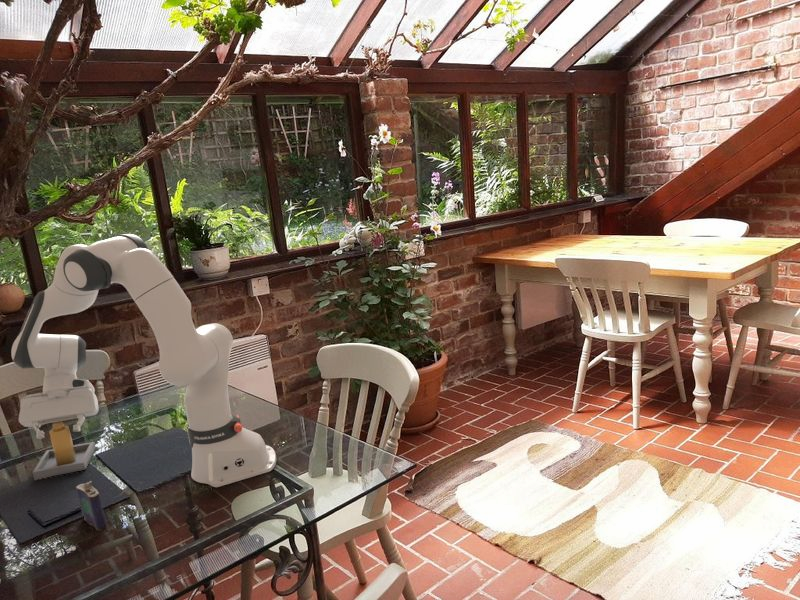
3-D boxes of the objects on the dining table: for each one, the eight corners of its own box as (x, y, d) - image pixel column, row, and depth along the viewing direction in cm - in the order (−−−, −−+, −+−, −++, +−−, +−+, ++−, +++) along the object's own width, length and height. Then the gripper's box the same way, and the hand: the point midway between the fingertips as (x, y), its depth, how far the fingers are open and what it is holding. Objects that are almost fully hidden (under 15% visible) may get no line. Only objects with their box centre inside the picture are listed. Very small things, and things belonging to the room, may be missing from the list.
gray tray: (95, 449, 181) (94, 441, 181) (85, 470, 169) (83, 462, 168) (48, 457, 178) (46, 450, 178) (34, 480, 166) (32, 472, 165)
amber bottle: (78, 455, 176) (69, 418, 174) (73, 463, 172) (65, 425, 169) (59, 459, 175) (50, 421, 172) (54, 467, 171) (45, 428, 168)
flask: (81, 519, 146) (72, 479, 143) (93, 513, 148) (84, 474, 146) (99, 532, 140) (89, 491, 138) (111, 525, 142) (102, 485, 140)
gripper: (16, 391, 172) (13, 438, 166) (93, 379, 177) (93, 424, 170) (25, 400, 178) (22, 445, 171) (100, 388, 182) (100, 431, 176)
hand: (58, 434), depth 171 cm, fingers open, 8 cm apart
